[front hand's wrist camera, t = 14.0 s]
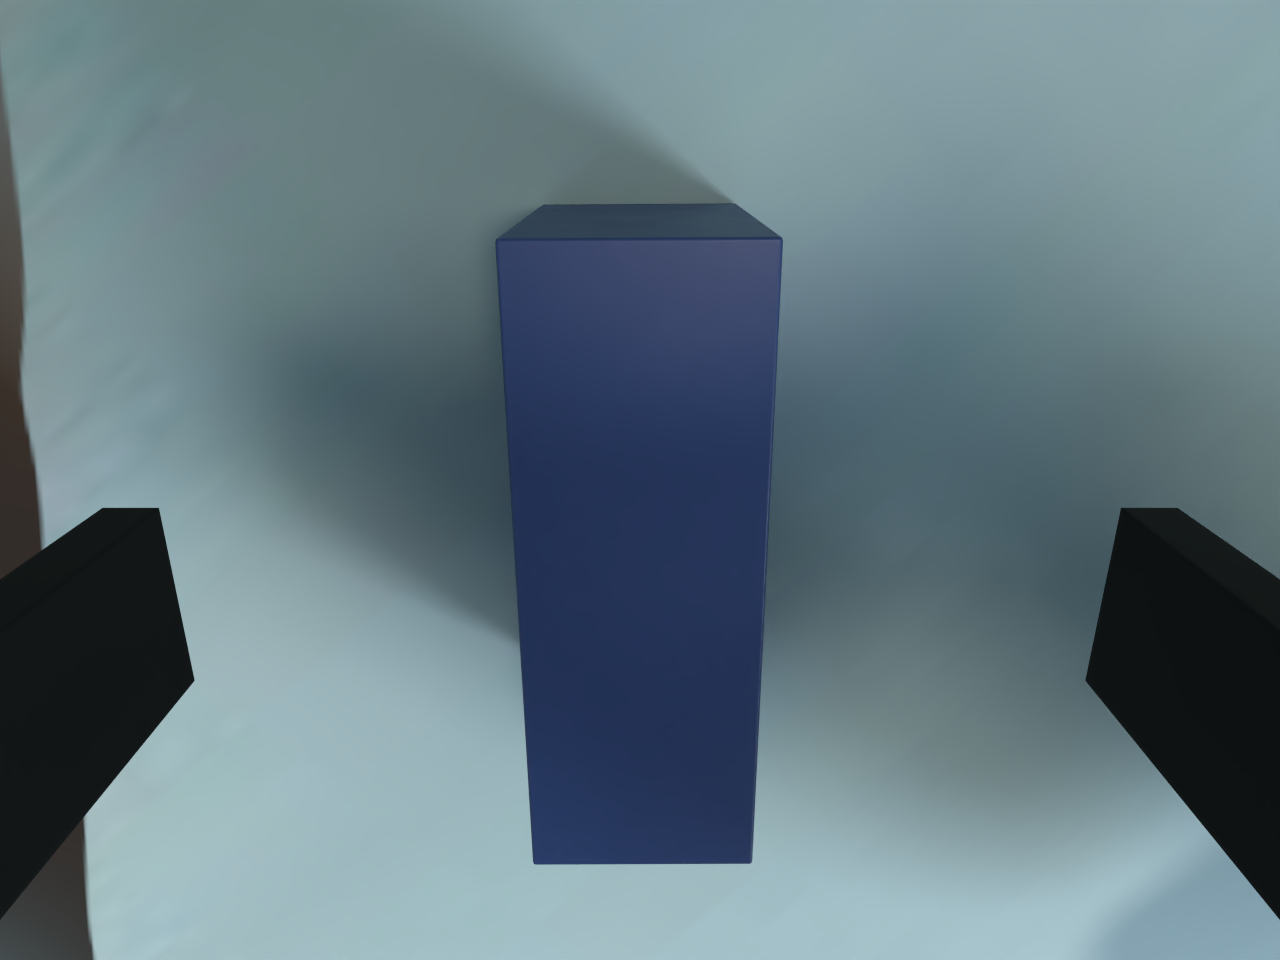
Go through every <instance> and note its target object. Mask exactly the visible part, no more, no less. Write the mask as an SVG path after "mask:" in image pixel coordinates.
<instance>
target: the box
mask: <svg viewBox="0 0 1280 960" xmlns="http://www.w3.org/2000/svg"><path fill="white" fill-rule="evenodd" d="M495 243H496V260H497V276H498V293H499V309H500V325H501V342H502V358H503V375H504V391H505V408H506V424H507V440H508V457H509V473H510V490H511V506H512V522H513V539H514V555H515V572H516V588H517V604H518V621H519V637H520V654H521V670H522V687H523V703H524V719H525V736H526V752H527V769H528V785H529V801H530V818H531V834H532V851H533V862H534V864H750V863H751V862H752V853H753V833H754V812H755V792H756V772H757V752H758V732H759V712H760V691H761V671H762V651H763V631H764V611H765V591H766V570H767V550H768V530H769V510H770V490H771V470H772V449H773V429H774V409H775V389H776V369H777V349H778V328H779V308H780V288H781V268H782V248H783V240H782V237H780V236H779V235H777V234H776V233H775V232H773V231H772V230H771V229H769V228H768V227H767V226H765V225H764V224H762V223H761V222H760V221H758V220H757V219H756V218H754V217H753V216H752V215H750V214H749V213H747V212H746V211H745V210H743V209H742V208H741V207H739V206H738V205H737V204H587V205H543V206H541V207H540V208H539V209H537V210H536V211H534V212H533V213H532V214H530V215H529V216H528V217H526V218H525V219H524V220H522V221H521V222H519V223H518V224H517V225H515V226H514V227H513V228H511V229H510V230H508V231H507V232H506V233H504V234H503V235H502V236H500V237H499V238H498V239H496V242H495Z"/></svg>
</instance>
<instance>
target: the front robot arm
mask: <svg viewBox="0 0 1280 960" xmlns="http://www.w3.org/2000/svg"><path fill="white" fill-rule="evenodd" d="M1085 681H1086V682H1087V683H1088V684H1089V686H1090V687H1091V688H1092V689H1093V690H1094V692H1095V693H1096V694H1097V695H1098V697H1099V698H1100V699H1101V700H1102V702H1103V703H1104V704H1105V705H1106V706H1107V708H1108V709H1109V710H1110V711H1111V713H1112V714H1113V715H1114V716H1115V718H1116V719H1117V720H1118V721H1119V722H1120V724H1121V725H1122V726H1123V727H1124V729H1125V730H1126V731H1127V732H1128V734H1129V735H1130V736H1131V737H1132V738H1133V740H1134V741H1135V742H1136V743H1137V745H1138V746H1139V747H1140V748H1141V750H1142V751H1143V752H1144V753H1145V754H1146V756H1147V757H1148V758H1149V759H1150V761H1151V762H1152V763H1153V764H1154V765H1155V767H1156V768H1157V769H1158V770H1159V772H1160V773H1161V774H1162V775H1163V777H1164V778H1165V779H1166V780H1167V781H1168V783H1169V784H1170V785H1171V786H1172V788H1173V789H1174V790H1175V791H1176V793H1177V794H1178V795H1179V796H1180V797H1181V799H1182V800H1183V801H1184V802H1185V804H1186V805H1187V806H1188V807H1189V809H1190V810H1191V811H1192V812H1193V813H1194V815H1195V816H1196V817H1197V818H1198V820H1199V821H1200V822H1201V823H1202V825H1203V826H1204V827H1205V828H1206V829H1207V831H1208V832H1209V833H1210V834H1211V836H1212V837H1213V838H1214V839H1215V841H1216V842H1217V843H1218V844H1219V845H1220V847H1221V848H1222V849H1223V850H1224V852H1225V853H1226V854H1227V855H1228V857H1229V858H1230V859H1231V860H1232V861H1233V863H1234V864H1235V865H1236V866H1237V868H1238V869H1239V870H1240V871H1241V873H1242V874H1243V875H1244V876H1245V877H1246V879H1247V880H1248V881H1249V882H1250V884H1251V885H1252V886H1253V887H1254V889H1255V890H1256V891H1257V892H1258V893H1259V895H1260V896H1261V897H1262V898H1263V900H1264V901H1265V902H1266V903H1267V905H1268V906H1269V907H1270V908H1271V909H1272V911H1273V912H1274V913H1275V914H1276V916H1277V917H1278V918H1279V919H1280V579H1278V578H1277V577H1275V576H1274V575H1273V574H1271V573H1270V572H1268V571H1267V570H1265V569H1264V568H1263V567H1261V566H1260V565H1258V564H1257V563H1255V562H1254V561H1253V560H1251V559H1250V558H1248V557H1247V556H1245V555H1244V554H1243V553H1241V552H1240V551H1238V550H1237V549H1235V548H1234V547H1233V546H1231V545H1230V544H1228V543H1227V542H1225V541H1224V540H1223V539H1221V538H1220V537H1218V536H1217V535H1215V534H1214V533H1212V532H1211V531H1210V530H1208V529H1207V528H1205V527H1204V526H1202V525H1201V524H1200V523H1198V522H1197V521H1195V520H1194V519H1192V518H1191V517H1190V516H1188V515H1187V514H1185V513H1184V512H1182V511H1181V510H1180V509H1178V508H1121V511H1120V516H1119V521H1118V526H1117V531H1116V536H1115V540H1114V545H1113V550H1112V555H1111V560H1110V565H1109V569H1108V574H1107V579H1106V584H1105V589H1104V594H1103V598H1102V603H1101V608H1100V613H1099V618H1098V623H1097V627H1096V632H1095V637H1094V642H1093V647H1092V652H1091V656H1090V661H1089V666H1088V671H1087V676H1086V680H1085ZM193 682H194V676H193V671H192V666H191V661H190V656H189V652H188V647H187V642H186V637H185V632H184V627H183V623H182V618H181V613H180V608H179V603H178V598H177V594H176V589H175V584H174V579H173V574H172V569H171V565H170V560H169V555H168V550H167V545H166V540H165V536H164V531H163V526H162V521H161V516H160V511H159V508H102V509H100V510H99V511H98V512H96V513H95V514H93V515H92V516H90V517H89V518H88V519H86V520H85V521H83V522H82V523H80V524H79V525H78V526H76V527H75V528H73V529H72V530H70V531H69V532H67V533H66V534H65V535H63V536H62V537H60V538H59V539H57V540H56V541H55V542H53V543H52V544H50V545H49V546H47V547H46V548H45V549H43V550H42V551H40V552H39V553H37V554H36V555H35V556H33V557H32V558H30V559H29V560H27V561H26V562H25V563H23V564H22V565H20V566H19V567H17V568H16V569H15V570H13V571H12V572H10V573H9V574H7V575H6V576H5V577H3V578H2V579H0V919H1V918H2V917H3V915H4V914H5V913H6V912H7V911H8V909H9V908H10V907H11V906H12V905H13V903H14V902H15V901H16V899H17V898H18V897H19V896H20V895H21V893H22V892H23V891H24V890H25V889H26V887H27V886H28V885H29V884H30V882H31V881H32V880H33V879H34V877H35V876H36V875H37V874H38V873H39V871H40V870H41V869H42V868H43V866H44V865H45V864H46V863H47V861H48V860H49V859H50V858H51V857H52V855H53V854H54V853H55V852H56V850H57V849H58V848H59V847H60V845H61V844H62V843H63V842H64V840H65V839H66V838H67V837H68V836H69V834H70V833H71V832H72V831H73V829H74V828H75V827H76V826H77V825H78V823H79V822H80V821H81V820H82V818H83V817H84V816H85V815H86V813H87V812H88V811H89V810H90V809H91V807H92V806H93V805H94V804H95V802H96V801H97V800H98V799H99V797H100V796H101V795H102V794H103V793H104V791H105V790H106V789H107V788H108V786H109V785H110V784H111V783H112V781H113V780H114V779H115V778H116V777H117V775H118V774H119V773H120V772H121V770H122V769H123V768H124V767H125V765H126V764H127V763H128V762H129V761H130V759H131V758H132V757H133V756H134V754H135V753H136V752H137V751H138V749H139V748H140V747H141V746H142V745H143V743H144V742H145V741H146V740H147V738H148V737H149V736H150V735H151V734H152V732H153V731H154V730H155V729H156V727H157V726H158V725H159V724H160V722H161V721H162V720H163V719H164V718H165V716H166V715H167V714H168V713H169V711H170V710H171V709H172V708H173V706H174V705H175V704H176V703H177V702H178V700H179V699H180V698H181V697H182V695H183V694H184V693H185V692H186V690H187V689H188V688H189V687H190V686H191V684H192V683H193Z"/></svg>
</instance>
